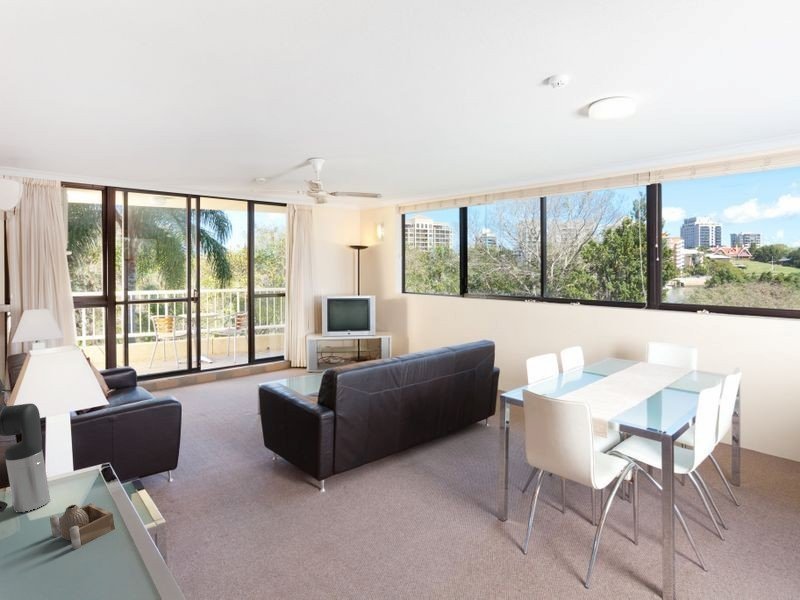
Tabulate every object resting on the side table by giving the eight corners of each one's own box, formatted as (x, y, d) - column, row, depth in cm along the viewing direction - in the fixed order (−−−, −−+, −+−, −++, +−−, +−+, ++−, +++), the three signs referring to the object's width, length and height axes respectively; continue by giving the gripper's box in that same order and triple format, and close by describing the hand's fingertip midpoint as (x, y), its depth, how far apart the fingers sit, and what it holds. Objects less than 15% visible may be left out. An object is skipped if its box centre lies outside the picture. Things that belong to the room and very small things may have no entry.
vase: (80, 543, 128) (75, 512, 127) (54, 544, 127) (49, 514, 127) (96, 528, 134) (91, 499, 133) (72, 529, 134) (67, 501, 133)
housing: (51, 536, 132) (48, 517, 131) (91, 517, 141) (89, 499, 140) (74, 550, 124) (71, 530, 124) (115, 529, 133) (113, 510, 132)
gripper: (-50, 474, 104) (26, 498, 116) (-67, 462, 111) (5, 486, 123) (-78, 508, 100) (3, 530, 112) (-95, 494, 107) (-17, 516, 119)
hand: (4, 507), depth 117 cm, fingers closed
